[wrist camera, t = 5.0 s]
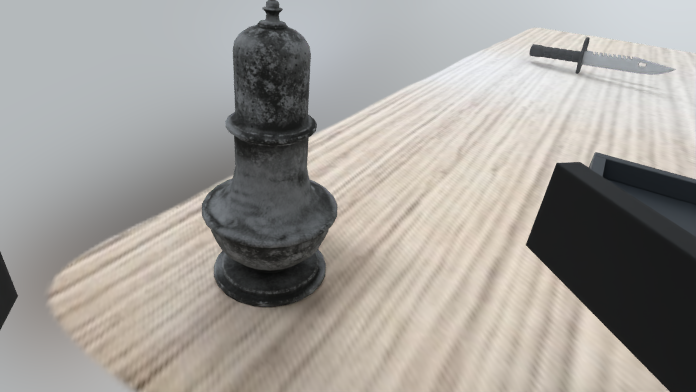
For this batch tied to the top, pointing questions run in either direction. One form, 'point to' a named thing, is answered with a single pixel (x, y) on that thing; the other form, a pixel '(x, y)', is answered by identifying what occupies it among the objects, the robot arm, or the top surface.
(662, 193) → the serving tray
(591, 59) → the knife
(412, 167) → the top surface
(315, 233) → the salt shaker
